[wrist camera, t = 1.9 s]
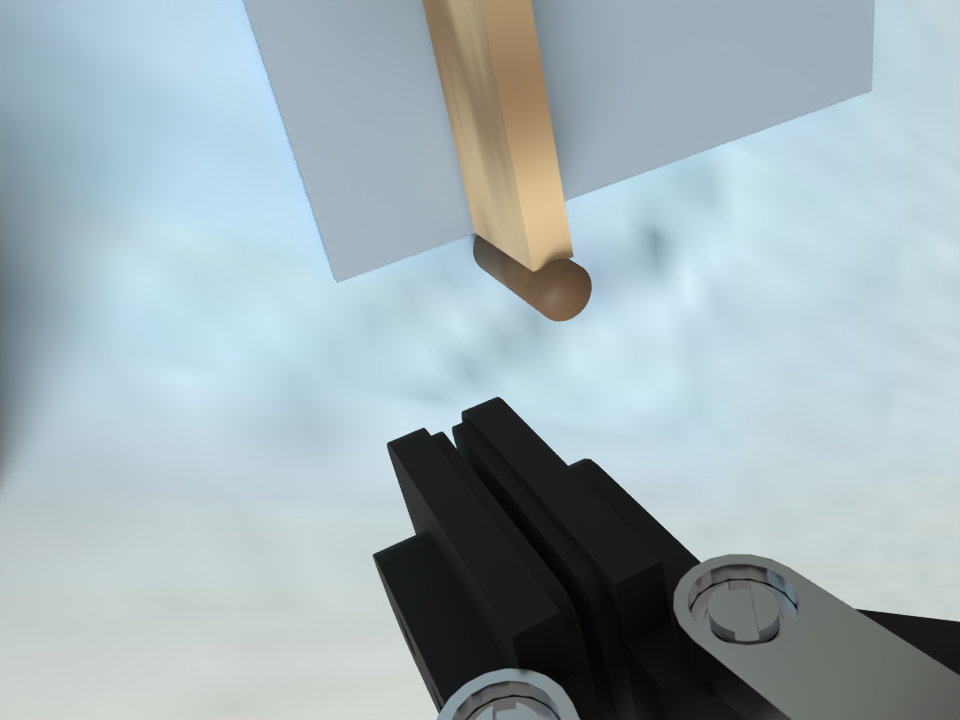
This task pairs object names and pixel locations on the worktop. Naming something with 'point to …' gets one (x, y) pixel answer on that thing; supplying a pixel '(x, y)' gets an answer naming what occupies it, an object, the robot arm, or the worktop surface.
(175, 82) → the worktop surface
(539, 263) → the fence panel
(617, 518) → the robot arm
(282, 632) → the worktop surface
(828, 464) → the worktop surface
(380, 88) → the card
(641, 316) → the worktop surface
